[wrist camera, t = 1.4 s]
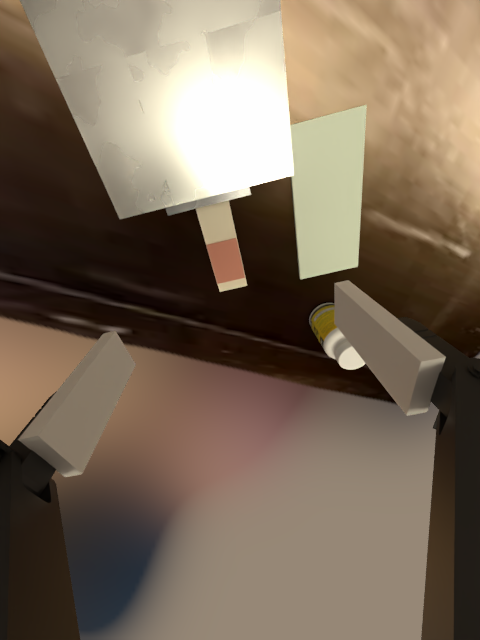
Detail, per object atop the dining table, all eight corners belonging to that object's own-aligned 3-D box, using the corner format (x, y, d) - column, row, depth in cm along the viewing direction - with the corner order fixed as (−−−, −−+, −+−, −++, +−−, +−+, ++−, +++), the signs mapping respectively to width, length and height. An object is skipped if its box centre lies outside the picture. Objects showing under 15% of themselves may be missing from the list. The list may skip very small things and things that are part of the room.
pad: (286, 126, 24) (287, 125, 23) (364, 106, 23) (366, 104, 23) (299, 278, 32) (300, 279, 32) (356, 265, 32) (357, 266, 32)
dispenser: (117, 73, 21) (-3, -48, 10) (244, 36, 20) (269, -141, 9) (165, 209, 27) (124, 228, 16) (264, 184, 26) (294, 185, 15)
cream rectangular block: (189, 153, 24) (175, 141, 17) (216, 145, 24) (213, 130, 17) (220, 267, 31) (219, 292, 24) (241, 262, 31) (247, 286, 24)
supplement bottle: (301, 317, 36) (324, 357, 28) (330, 294, 34) (365, 331, 26) (319, 336, 38) (346, 380, 30) (348, 316, 36) (385, 357, 28)
